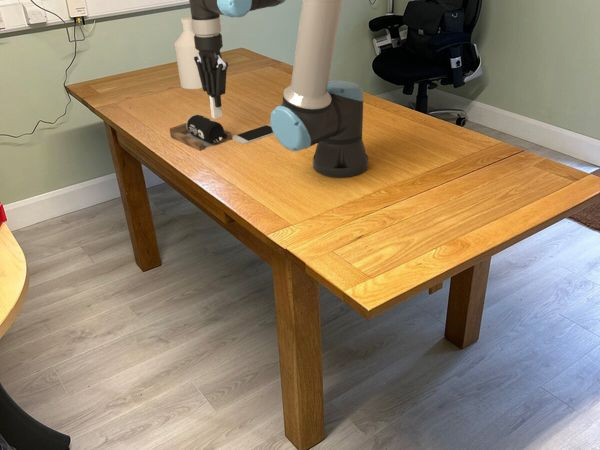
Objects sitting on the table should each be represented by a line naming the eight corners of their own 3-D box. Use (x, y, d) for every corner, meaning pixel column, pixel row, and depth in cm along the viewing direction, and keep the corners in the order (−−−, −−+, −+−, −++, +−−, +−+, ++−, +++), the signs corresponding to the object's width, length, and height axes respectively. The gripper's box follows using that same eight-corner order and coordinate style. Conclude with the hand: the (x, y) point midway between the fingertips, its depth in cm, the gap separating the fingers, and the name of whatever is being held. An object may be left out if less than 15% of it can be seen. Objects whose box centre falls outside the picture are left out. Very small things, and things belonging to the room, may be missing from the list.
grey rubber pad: (225, 139, 180) (225, 138, 180) (203, 148, 175) (202, 146, 175) (202, 130, 188) (202, 129, 187) (180, 137, 183) (180, 136, 182)
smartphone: (230, 139, 182) (230, 136, 181) (270, 126, 190) (270, 123, 189) (243, 145, 177) (243, 142, 176) (283, 132, 185) (283, 129, 185)
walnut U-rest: (231, 138, 180) (231, 129, 179) (200, 150, 173) (198, 141, 172) (202, 126, 190) (201, 117, 189) (171, 137, 183) (169, 128, 182)
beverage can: (212, 120, 172) (190, 110, 180) (203, 140, 172) (182, 130, 180) (228, 127, 177) (206, 117, 185) (220, 147, 177) (198, 136, 185)
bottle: (208, 88, 224) (200, 21, 212) (177, 89, 225) (167, 22, 212) (212, 79, 235) (205, 14, 222) (183, 80, 235) (174, 15, 222)
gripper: (233, 34, 157) (241, 118, 169) (204, 28, 165) (213, 108, 177) (210, 40, 152) (220, 125, 165) (182, 32, 161) (193, 115, 173)
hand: (216, 116), depth 171 cm, fingers closed
